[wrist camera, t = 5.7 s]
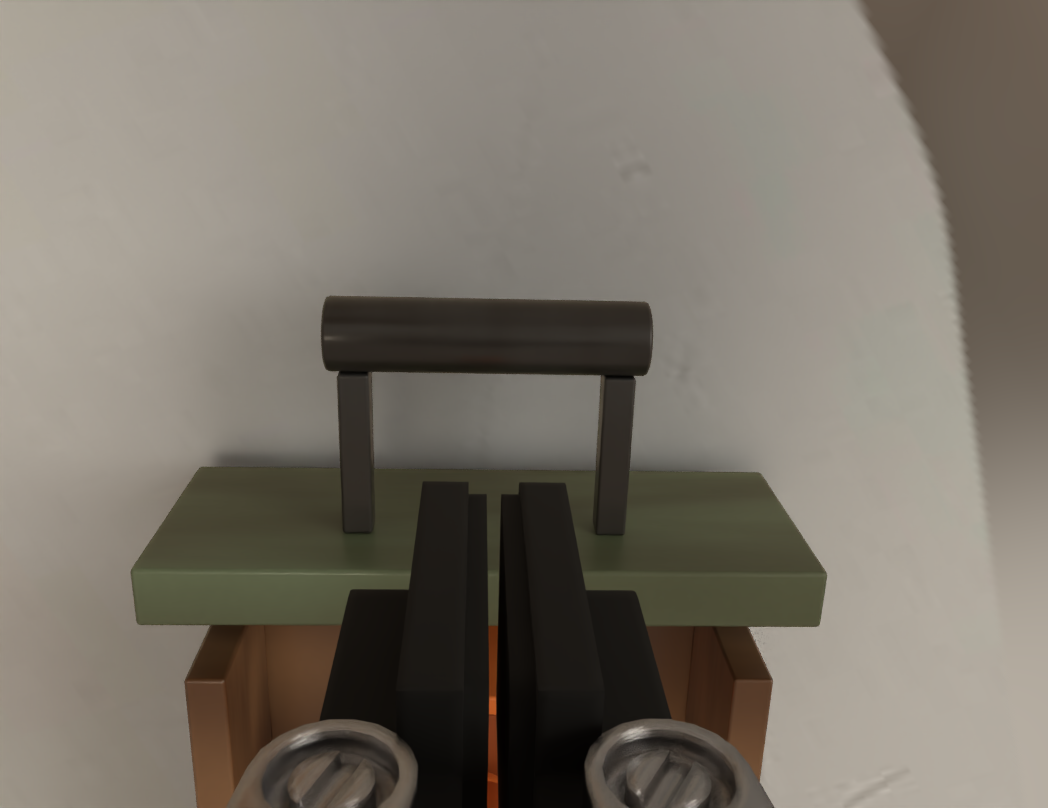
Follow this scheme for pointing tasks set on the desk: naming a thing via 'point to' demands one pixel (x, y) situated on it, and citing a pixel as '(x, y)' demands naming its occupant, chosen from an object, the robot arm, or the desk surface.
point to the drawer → (391, 521)
